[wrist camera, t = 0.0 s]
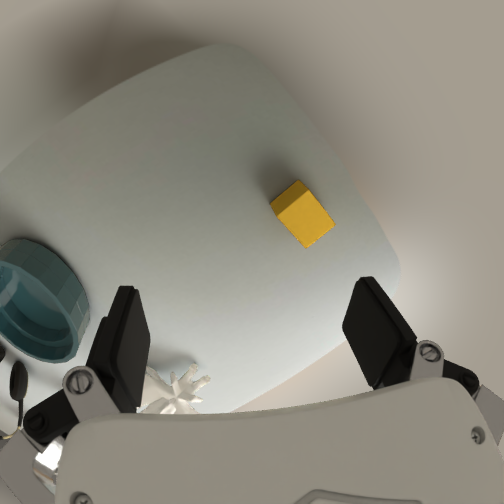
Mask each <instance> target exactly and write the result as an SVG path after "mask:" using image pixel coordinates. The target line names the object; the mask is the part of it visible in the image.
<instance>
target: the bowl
mask: <svg viewBox="0 0 504 504" xmlns="http://www.w3.org/2000/svg"><path fill="white" fill-rule="evenodd" d="M89 320H90V317H89V303H88V301H87V298H86V295H85V292H84V289H83V287H82V286H81V284H80V283H79V281H78V279H77V278H76V276H75V275H74V273H73V272H72V270H71V269H70V268H69V267H68V266H67V265H66V264H65V263H64V262H63V261H62V260H61V259H60V258H59V257H58V256H57V255H55V254H54V253H52V252H51V251H49V250H48V249H46V248H45V247H43V246H42V245H40V244H38V243H35V242H31V241H28V240H25V239H18V240H10V241H8V242H7V243H5V244H4V245H2V246H1V247H0V334H1V335H2V336H3V337H4V338H5V339H6V340H7V341H8V342H9V343H10V344H11V345H13V346H14V347H15V348H17V349H18V350H20V351H21V352H23V353H25V354H26V355H28V356H30V357H33V358H35V359H37V360H40V361H43V362H48V363H54V364H56V363H63V362H67V361H69V360H70V359H72V358H73V357H75V356H76V353H77V350H78V348H79V345H80V343H81V340H82V337H83V335H84V332H85V330H86V327H87V325H88V322H89Z"/></svg>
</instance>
